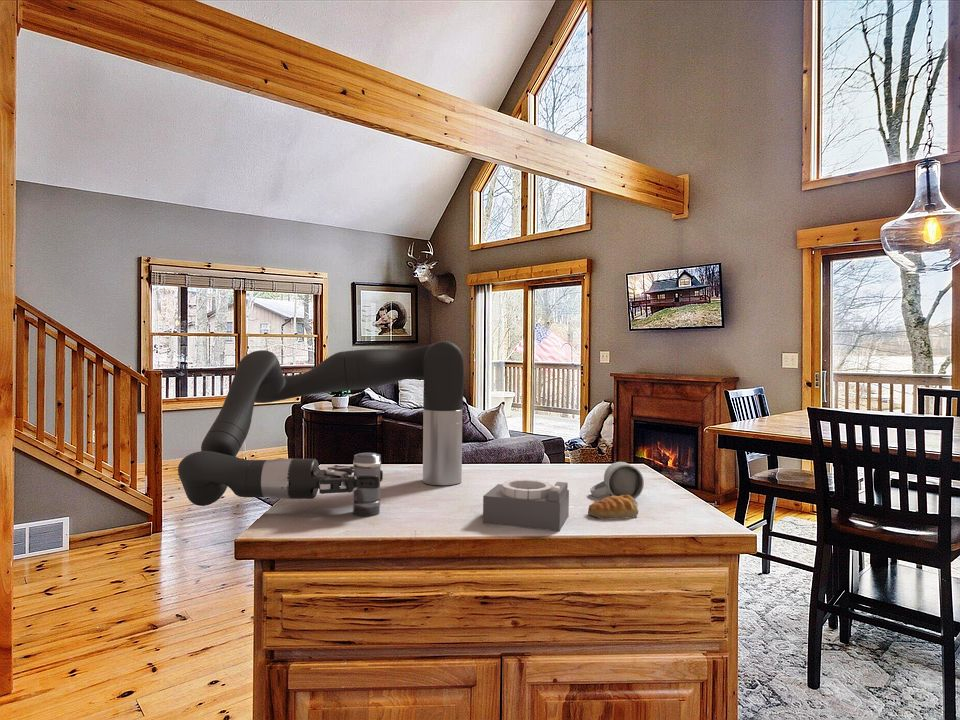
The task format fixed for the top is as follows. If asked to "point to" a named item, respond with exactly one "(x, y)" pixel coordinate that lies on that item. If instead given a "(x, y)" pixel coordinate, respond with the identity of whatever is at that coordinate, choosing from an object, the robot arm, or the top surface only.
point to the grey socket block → (527, 504)
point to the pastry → (614, 507)
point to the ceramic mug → (620, 481)
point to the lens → (366, 498)
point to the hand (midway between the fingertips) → (380, 478)
